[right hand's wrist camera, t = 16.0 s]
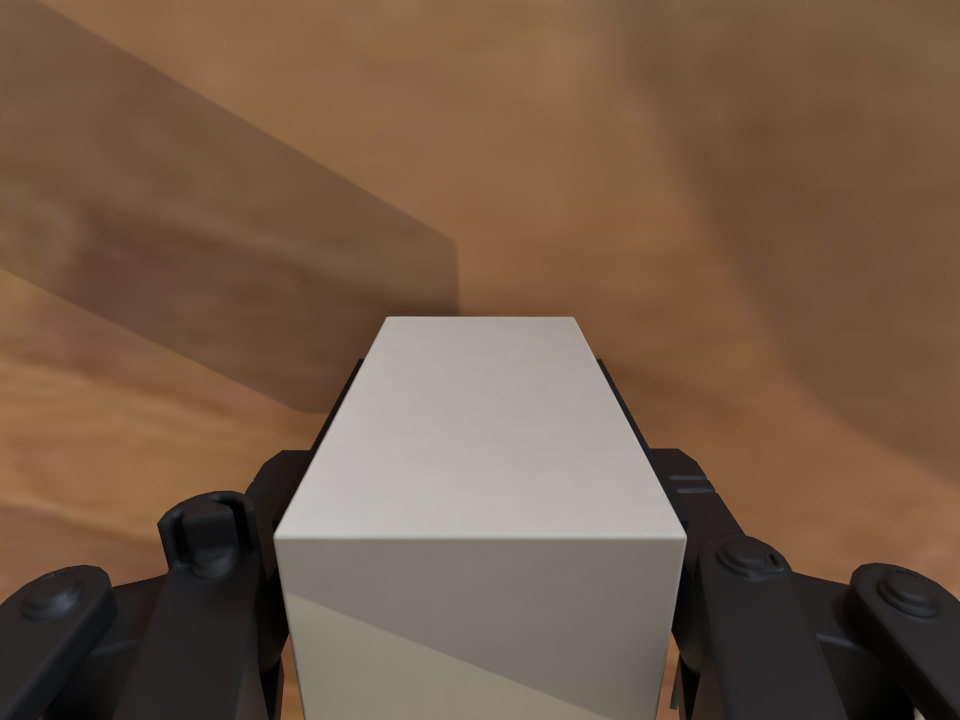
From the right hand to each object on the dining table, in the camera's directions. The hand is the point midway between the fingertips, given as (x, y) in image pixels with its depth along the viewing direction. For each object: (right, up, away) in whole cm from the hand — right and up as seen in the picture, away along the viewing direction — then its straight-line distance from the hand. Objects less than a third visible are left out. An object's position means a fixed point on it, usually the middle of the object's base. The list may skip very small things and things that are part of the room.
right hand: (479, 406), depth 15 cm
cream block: (0, 0, 0) cm, 0 cm away
